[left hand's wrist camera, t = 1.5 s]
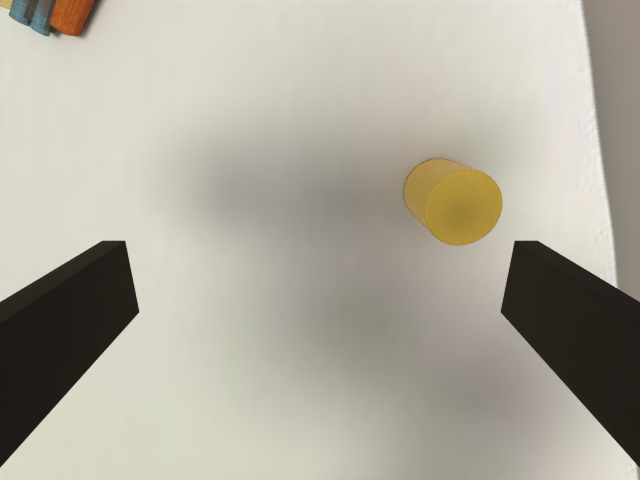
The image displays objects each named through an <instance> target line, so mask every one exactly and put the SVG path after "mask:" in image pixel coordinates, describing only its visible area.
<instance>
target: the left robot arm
mask: <svg viewBox="0 0 640 480" xmlns="http://www.w3.org/2000/svg"><path fill="white" fill-rule="evenodd" d="M138 313H139V308H138V303H137V298H136V293H135V288H134V283H133V278H132V273H131V268H130V263H129V258H128V253H127V248H126V243H125V241H101V242H100V243H98V244H96V245H95V246H93V247H91V248H90V249H88V250H86V251H85V252H83V253H81V254H80V255H78V256H76V257H75V258H73V259H71V260H70V261H68V262H66V263H65V264H63V265H61V266H60V267H58V268H56V269H55V270H53V271H51V272H50V273H48V274H46V275H45V276H43V277H41V278H40V279H38V280H36V281H35V282H33V283H31V284H30V285H28V286H26V287H25V288H23V289H21V290H20V291H18V292H16V293H15V294H13V295H11V296H10V297H8V298H6V299H5V300H3V301H1V302H0V467H1V466H2V465H3V464H4V463H5V462H6V461H7V459H8V458H9V457H10V456H11V455H12V454H13V453H14V452H15V450H16V449H17V448H18V447H19V446H20V445H21V444H22V443H23V442H24V440H25V439H26V438H27V437H28V436H29V435H30V434H31V433H32V431H33V430H34V429H35V428H36V427H37V426H38V425H39V424H40V423H41V421H42V420H43V419H44V418H45V417H46V416H47V415H48V414H49V412H50V411H51V410H52V409H53V408H54V407H55V406H56V405H57V404H58V402H59V401H60V400H61V399H62V398H63V397H64V396H65V395H66V393H67V392H68V391H69V390H70V389H71V388H72V387H73V386H74V385H75V383H76V382H77V381H78V380H79V379H80V378H81V377H82V376H83V374H84V373H85V372H86V371H87V370H88V369H89V368H90V367H91V366H92V364H93V363H94V362H95V361H96V360H97V359H98V358H99V357H100V355H101V354H102V353H103V352H104V351H105V350H106V349H107V348H108V347H109V345H110V344H111V343H112V342H113V341H114V340H115V339H116V338H117V336H118V335H119V334H120V333H121V332H122V331H123V330H124V329H125V328H126V326H127V325H128V324H129V323H130V322H131V321H132V320H133V319H134V317H135V316H136V315H137V314H138ZM501 313H502V314H503V315H504V316H505V317H506V319H507V320H508V321H509V322H510V323H511V324H512V325H513V326H514V328H515V329H516V330H517V331H518V332H519V333H520V334H521V335H522V336H523V338H524V339H525V340H526V341H527V342H528V343H529V344H530V345H531V347H532V348H533V349H534V350H535V351H536V352H537V353H538V354H539V355H540V357H541V358H542V359H543V360H544V361H545V362H546V363H547V364H548V366H549V367H550V368H551V369H552V370H553V371H554V372H555V373H556V374H557V376H558V377H559V378H560V379H561V380H562V381H563V382H564V383H565V385H566V386H567V387H568V388H569V389H570V390H571V391H572V392H573V393H574V395H575V396H576V397H577V398H578V399H579V400H580V401H581V402H582V404H583V405H584V406H585V407H586V408H587V409H588V410H589V411H590V412H591V414H592V415H593V416H594V417H595V418H596V419H597V420H598V421H599V423H600V424H601V425H602V426H603V427H604V428H605V429H606V430H607V431H608V433H609V434H610V435H611V436H612V437H613V438H614V439H615V440H616V442H617V443H618V444H619V445H620V446H621V447H622V448H623V449H624V450H625V452H626V453H627V454H628V455H629V456H630V457H631V458H632V459H633V461H634V462H635V463H636V464H637V465H638V466H639V467H640V302H639V301H637V300H635V299H634V298H632V297H630V296H629V295H627V294H625V293H624V292H622V291H620V290H619V289H617V288H615V287H614V286H612V285H610V284H609V283H607V282H605V281H604V280H602V279H600V278H599V277H597V276H595V275H594V274H592V273H590V272H589V271H587V270H585V269H584V268H582V267H580V266H579V265H577V264H575V263H574V262H572V261H570V260H569V259H567V258H565V257H564V256H562V255H560V254H559V253H557V252H555V251H554V250H552V249H550V248H549V247H547V246H545V245H544V244H542V243H540V242H539V241H515V243H514V248H513V253H512V258H511V263H510V268H509V273H508V278H507V283H506V288H505V293H504V298H503V303H502V308H501Z"/></svg>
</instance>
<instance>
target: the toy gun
mask: <svg viewBox="0 0 640 480" xmlns="http://www.w3.org/2000/svg"><path fill="white" fill-rule="evenodd" d="M93 3H94V0H0V6H1V7H4V8H8V9H10V13H9V16H10V17H11V18H12V19H14V20H16V21H18V22H19V23H21V24H24V25H27V26H30V27H31V28H32V29H33V30H35V31H36V32H38V33H40V34H42V35H45V36H49V35H50V32H52V33H55V30H56V29H57V30H59V31H60V32H62V33H64V34H66V35H70V36H79V35H80V33H81V30H82V28H83V26H84V23H85V21H86V19H87V17H88V14H89V12H90V10H91V7H92V5H93Z"/></svg>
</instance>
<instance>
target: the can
mask: <svg viewBox="0 0 640 480" xmlns="http://www.w3.org/2000/svg"><path fill="white" fill-rule="evenodd" d="M404 200H405V203H406V205H407V207H408V209H409V210H410V211H411V213H412V214H413V215H414V216H415V217H416V218H417V219H418V220H419V221H420V222H421V223H422V224H423V225H424V226H425V227H426V228H427V229H428V230H429V231H430V232H431V234H432V235H433V236H435V237H436V238H437V239H438V240H440V241H442V242H444V243H447V244H451V245H466V244H470V243H473V242H475V241H477V240H479V239H481V238H483V237H484V236H485V235H487V234H488V233H489V232H490V231H491V230H492V229H493V227H494V226H495V225H496V223H497V221H498V219H499V217H500V214H501V210H502V195H501V192H500V189H499V187H498V185H497V184H496V182H495V181H494V180H493V179H492V178H491V177H490V176H488V175H487V174H485V173H483V172H480V171H477V170H474V169H472V168H469V167H466V166H463V165H460V164H457V163H454V162H451V161H448V160H445V159H432V160H428V161H426V162H423V163H422V164H420V165H418V166H417V167H416V168H415V169H414V170H413V171H412V172H411V173H410V175H409V176H408V178H407V180H406V183H405V186H404Z"/></svg>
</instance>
